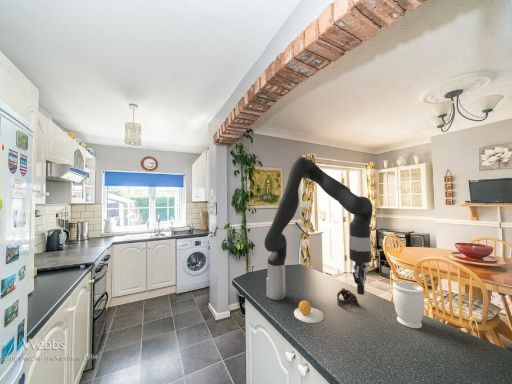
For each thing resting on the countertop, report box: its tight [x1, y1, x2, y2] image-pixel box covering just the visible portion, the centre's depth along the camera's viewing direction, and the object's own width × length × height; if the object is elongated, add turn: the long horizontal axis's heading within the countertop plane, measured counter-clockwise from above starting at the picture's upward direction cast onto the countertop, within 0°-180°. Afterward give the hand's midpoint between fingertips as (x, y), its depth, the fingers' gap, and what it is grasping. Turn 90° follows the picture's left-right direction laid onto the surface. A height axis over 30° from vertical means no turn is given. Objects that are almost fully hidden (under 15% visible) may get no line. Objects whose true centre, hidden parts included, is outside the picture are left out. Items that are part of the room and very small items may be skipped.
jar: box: [392, 281, 425, 329], centre depth 85 cm, size 11×10×15 cm
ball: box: [298, 300, 312, 314], centre depth 92 cm, size 6×6×6 cm
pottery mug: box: [336, 287, 360, 308], centre depth 100 cm, size 12×10×8 cm
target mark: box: [293, 306, 325, 324], centre depth 91 cm, size 13×13×1 cm
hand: (360, 293), depth 78 cm, fingers closed
